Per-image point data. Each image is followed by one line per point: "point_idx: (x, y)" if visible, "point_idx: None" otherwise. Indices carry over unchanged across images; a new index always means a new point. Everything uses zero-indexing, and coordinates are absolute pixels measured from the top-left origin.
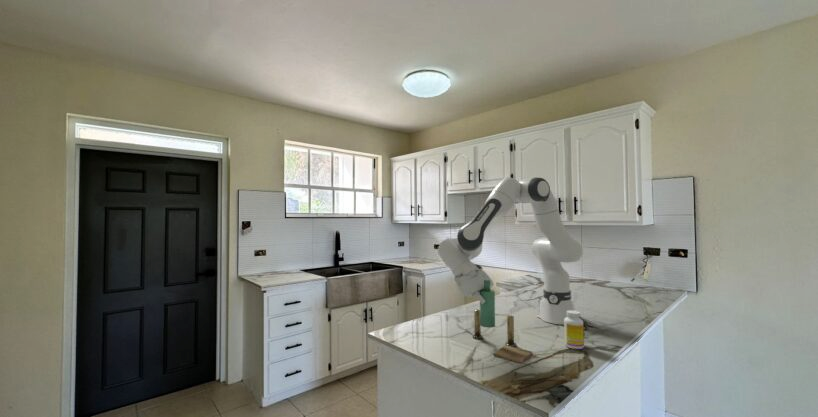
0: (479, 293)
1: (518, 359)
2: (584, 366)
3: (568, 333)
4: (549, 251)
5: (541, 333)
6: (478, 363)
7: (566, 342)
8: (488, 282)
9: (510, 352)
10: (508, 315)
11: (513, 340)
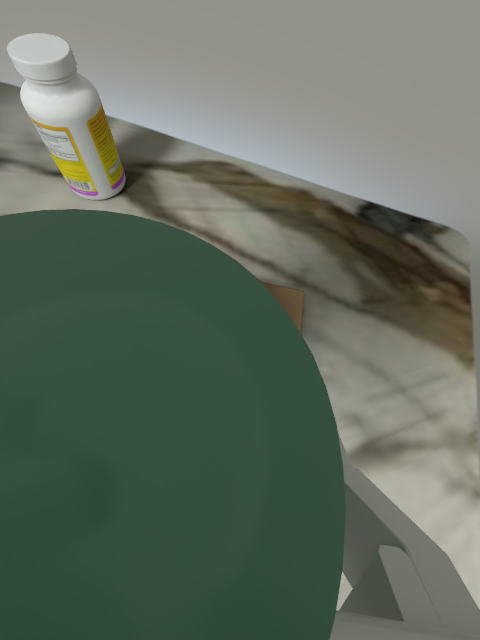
0: (386, 551)
1: (299, 300)
2: (237, 175)
3: (104, 153)
4: None
5: None
6: (381, 412)
7: (109, 187)
8: (250, 318)
9: None
10: None
11: None
